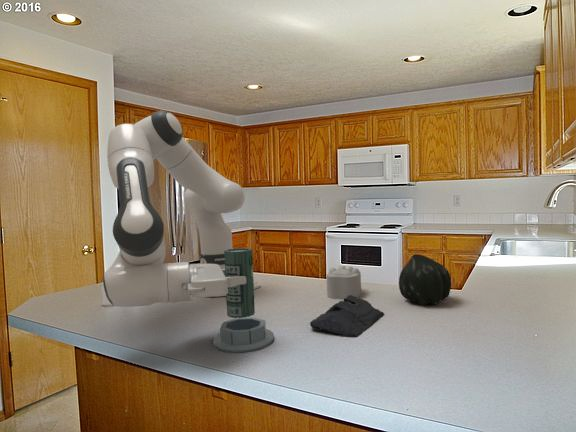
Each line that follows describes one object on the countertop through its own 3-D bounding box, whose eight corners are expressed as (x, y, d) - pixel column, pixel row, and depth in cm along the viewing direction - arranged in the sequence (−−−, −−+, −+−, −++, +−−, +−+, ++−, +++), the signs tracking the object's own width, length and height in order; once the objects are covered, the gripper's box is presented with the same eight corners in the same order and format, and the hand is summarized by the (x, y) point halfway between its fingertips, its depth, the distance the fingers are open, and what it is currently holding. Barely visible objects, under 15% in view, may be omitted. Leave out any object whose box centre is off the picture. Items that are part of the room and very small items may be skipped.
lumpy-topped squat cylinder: (324, 298, 131) (323, 271, 131) (334, 288, 143) (333, 264, 143) (357, 300, 128) (355, 272, 127) (364, 289, 140) (363, 264, 139)
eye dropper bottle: (112, 307, 133) (109, 270, 133) (100, 305, 136) (97, 269, 135) (123, 303, 137) (120, 267, 136) (111, 302, 140) (108, 267, 139)
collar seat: (248, 327, 107) (247, 311, 106) (286, 338, 97) (285, 322, 96) (202, 343, 97) (200, 326, 97) (239, 358, 87) (237, 339, 87)
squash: (467, 281, 121) (432, 242, 126) (451, 295, 110) (412, 251, 115) (433, 307, 129) (401, 269, 134) (414, 322, 117) (379, 280, 123)
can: (259, 311, 97) (256, 248, 96) (243, 319, 92) (241, 252, 91) (238, 309, 100) (235, 247, 100) (222, 315, 95) (219, 251, 94)
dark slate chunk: (299, 332, 102) (298, 313, 102) (336, 308, 121) (335, 292, 121) (357, 341, 94) (357, 320, 94) (387, 314, 113) (387, 297, 113)
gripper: (181, 276, 82) (249, 270, 86) (181, 261, 102) (236, 256, 106) (183, 307, 83) (251, 300, 86) (182, 286, 102) (238, 281, 106)
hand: (243, 276), depth 96 cm, fingers closed on can, 6 cm apart
